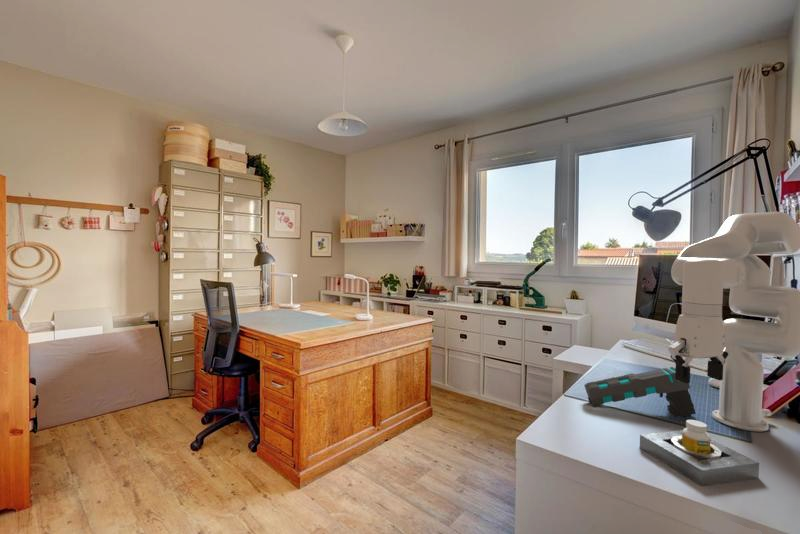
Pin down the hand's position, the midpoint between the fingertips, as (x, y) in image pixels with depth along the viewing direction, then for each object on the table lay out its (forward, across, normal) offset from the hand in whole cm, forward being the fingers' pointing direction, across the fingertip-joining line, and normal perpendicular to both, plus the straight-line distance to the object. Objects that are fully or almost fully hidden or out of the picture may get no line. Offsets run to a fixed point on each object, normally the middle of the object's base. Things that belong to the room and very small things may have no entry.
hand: (698, 379), depth 88 cm
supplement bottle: (+20, 0, 0) cm, 21 cm away
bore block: (+20, +1, 0) cm, 20 cm away
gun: (+21, -11, -29) cm, 37 cm away
